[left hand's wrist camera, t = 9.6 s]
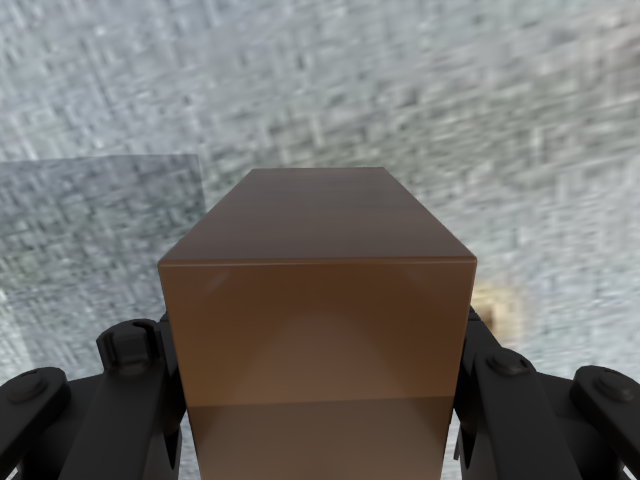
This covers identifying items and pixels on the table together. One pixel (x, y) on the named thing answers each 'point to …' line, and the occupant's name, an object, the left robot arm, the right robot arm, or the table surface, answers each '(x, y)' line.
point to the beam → (318, 328)
